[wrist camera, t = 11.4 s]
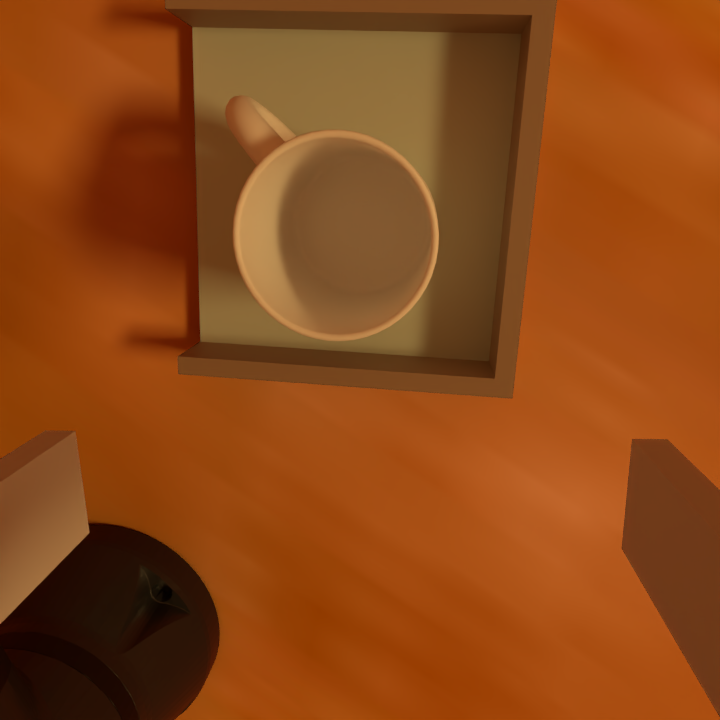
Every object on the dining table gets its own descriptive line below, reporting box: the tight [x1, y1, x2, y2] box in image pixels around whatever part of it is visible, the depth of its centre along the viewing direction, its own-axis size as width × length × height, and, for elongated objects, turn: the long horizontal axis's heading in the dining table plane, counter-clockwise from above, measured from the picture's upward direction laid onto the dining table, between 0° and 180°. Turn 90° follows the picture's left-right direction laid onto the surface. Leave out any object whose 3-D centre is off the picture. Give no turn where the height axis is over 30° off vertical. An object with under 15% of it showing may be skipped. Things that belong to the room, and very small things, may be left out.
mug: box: [225, 95, 439, 341], centre depth 30 cm, size 12×8×10 cm
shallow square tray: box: [165, 0, 557, 398], centre depth 33 cm, size 18×19×4 cm
